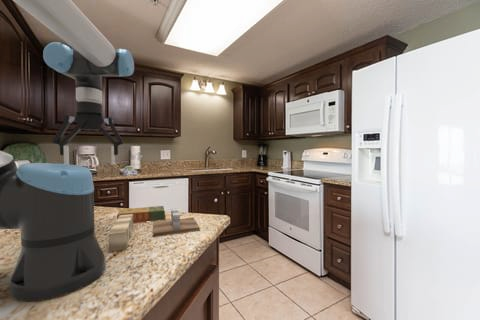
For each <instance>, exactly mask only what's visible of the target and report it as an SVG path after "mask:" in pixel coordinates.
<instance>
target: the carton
mask: <svg viewBox="0 0 480 320" xmlns="http://www.w3.org/2000/svg"><path fill="white" fill-rule="evenodd" d="M129 214H133V224H139V223H138V222H142V223H148V222H147V221H151V222H157V221H159V220H160V221H166V212H165V208H164V205H157V206H147V207H146V206H145V207H133V208H121V209H120V208H119V211H118V213H117V214H116V215H117V217H116V220H117V219H118V217H119V215H129Z"/></svg>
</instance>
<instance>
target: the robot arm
mask: <svg viewBox="0 0 480 320" xmlns="http://www.w3.org/2000/svg"><path fill="white" fill-rule="evenodd" d="M12 1H13V2H14V3H16V4H17V5H18V6H19V7H21V8H22V9H23V10H24V11H25V12H27V13H28V14H29V15H30V16H32V17H34V18H35V19H36V20H37V21H38V22H39V23H40V24H42V25H43V26H45V27H46V29H48V30H50V31H51V32H52V33H53V34H55V35H56V36H57V37H59V39H61V40H62V41H63V42H64V43H62V42H57V41H53V42H50V43H48V44H47V45H46V46H45V47H44V49H43V52H42V53H43V54H42V57H43V58H42V59H43V61H44V62H45V64H46V65H47V66H48V67H49V68H51V69H53V70H54V71H56V72H57V73H60V74H62V75H64V76H67V77H68V78H71V79H73V80H74V81H75V100H76V101H77V102H76V103H75V113H76V115H75V116H69V115H67V114H66V115H64V117H63V123H62V124H61V125H60V127H59V129H58V131H57V132H56V134H55V136H54V137H53V139H52V143H53V144H56V145H58V147H59V155H60V156H63V163H59V162H58V163H52V162H28V163H23V164H20V165H19V166H18V165H17V163H16V161H15V158H14V157H13V155H12V154H11V153H10V154H9V153H8V152H5V151H3V150H0V230H1V231H3V230H20V241H21V242H20V243H21V248H20V252H19V255H18V258H17V260H16V264H15V266H14V269H13V272H12V274H11V278H10V280H9V295H10V297H11V298H12V299H14V300H17V301H21V302H36V301H38V302H39V301H44V300H48V299H53V298H57V297H61V296H64V295H67V294H69V293H72V292H75V291H77V290H79V289H82V288H85V286H88V285H90V284H91V283H93V282H95V281H97V279H99V278H100V277H101V276H102V275H103V273H104V272H105V270H106V257H105V254H104V252H103V251H102V247H101V245H100V242H99V241H98V239H97V237H96V234H95V232H96V231H95V198H94V197H95V195H94V194H95V193H94V192H95V186H94V178H93V173H92V172H91V170H90V169H89V168H87V167H85V166H81V165H75V164H70V148H69V145H67V144H68V143H69V142H70V141H71V140H73V139H74V137H76V136H77V134H78V133H80V131H82V130H84V131H95V132H96V131H97V130H98V131H100V132H101V133H102V135H103V136H105V138H107V140H109V142H110V143H111V144H112V145H110V146H111V147H110V150H111V165H112V166H113V165H116V158H115V157H116V156H118V155H119V146H121V145H123V144H124V141H123V139H122V137H121V135H120V134H119V132H118V130H117V129H116V127H115V125H114V120H113V117H108V118H107V117H105V118H104V117H103V105H102V103H103V85H102V83H103V82H102V81H103V77H118V78H119V77H130V76H132V75H134V72H135V61H134V58H133V55H132V53H131V52H130V50H127V49H125V48H124V49H123V48H116V47H115V46H114V45H113V44H112V43H111V42H110V40H108V38H107V37H106V36H104V34H103V33H101V31H100V30H99V29H98V28H97V27H96V26H95V25H94V23H92V22H91V20H90V19H89V18H88V17H87V16H86V15H85V14H84V13H83V12H82V10H81V9H80V8H79V7H78V6H77V5H76V4H75V3H74V2H73V1H72V0H12ZM65 43H66V44H67V45H66V44H65ZM74 121H75V123H77V124H76V125H75V126H74V127H73V129H72V130H71V131H70V132H68V134H67V135H65V133H66V131H67V130H68V128H69V127H70V125H71V124H72V123H73V122H74ZM104 123H106V124H107V125H109V127H110V129H111V131H112V133H113V135H114V136H115V137H116V139H117V141H116V140H115V139H114V137H112V136H111V135H110V134H109V133H108V132H107V130H105V129H104V127H102V125H103V124H104ZM64 135H65V137H64Z"/></svg>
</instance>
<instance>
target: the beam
mask: <svg viewBox="0 0 480 320" xmlns="http://www.w3.org/2000/svg"><path fill="white" fill-rule="evenodd" d="M132 230H134V223H133V214H129V215H119V217H118V219H117V218H116V220H115V222H114V224H113V225H112V227H111V230H110V231H109V233H108V252H109V253H113V252H112V251H115V252H121V251H120V250H122V251H127V249H128V247H129V243H130V240H131V237H132V234H133V231H132Z"/></svg>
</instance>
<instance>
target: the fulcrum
mask: <svg viewBox="0 0 480 320" xmlns="http://www.w3.org/2000/svg"><path fill="white" fill-rule="evenodd" d="M170 214H171V215H170V216H171V217H170V219H167V220H166V219H165V220H160V221H152V223H153V225H152V228H153V229H152V230H153V232H152V233H153V235H152V236H153V237H162V236H168V235H175V234H176V235H177V234H183V233H184V234H185V233H191V232H192V233H193V232H199V231H200V229H201V228H200V226H199V224H198V223H197V220H196V219H195V218H194V217H187V218H186V217H185V218H181V215H180V212H179V209H178V208H176V207H175V208H171V209H170Z"/></svg>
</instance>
